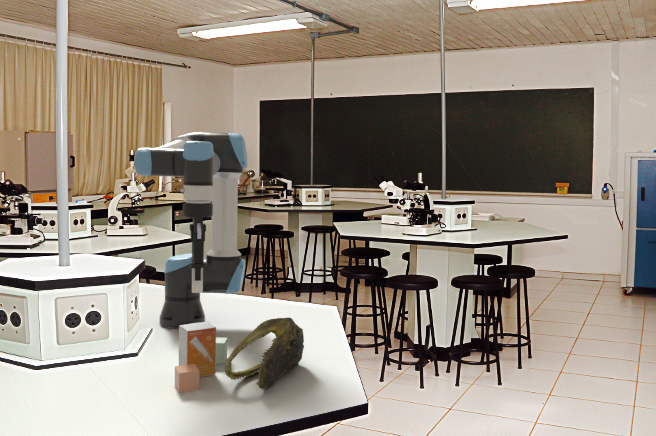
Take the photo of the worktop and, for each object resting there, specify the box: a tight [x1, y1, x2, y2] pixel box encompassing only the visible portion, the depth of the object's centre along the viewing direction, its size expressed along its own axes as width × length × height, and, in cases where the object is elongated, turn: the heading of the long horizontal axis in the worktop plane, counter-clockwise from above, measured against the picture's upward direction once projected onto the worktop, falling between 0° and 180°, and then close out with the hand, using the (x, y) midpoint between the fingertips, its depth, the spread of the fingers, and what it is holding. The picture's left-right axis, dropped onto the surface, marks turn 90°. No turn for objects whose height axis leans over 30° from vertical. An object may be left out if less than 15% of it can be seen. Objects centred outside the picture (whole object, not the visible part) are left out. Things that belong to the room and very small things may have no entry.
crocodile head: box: [224, 317, 305, 390], centre depth 160 cm, size 27×17×15 cm
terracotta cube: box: [174, 364, 200, 393], centre depth 151 cm, size 5×5×5 cm
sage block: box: [215, 336, 228, 365], centre depth 170 cm, size 5×5×6 cm
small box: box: [178, 321, 217, 378], centre depth 160 cm, size 8×6×13 cm
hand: (197, 292), depth 158 cm, fingers closed
